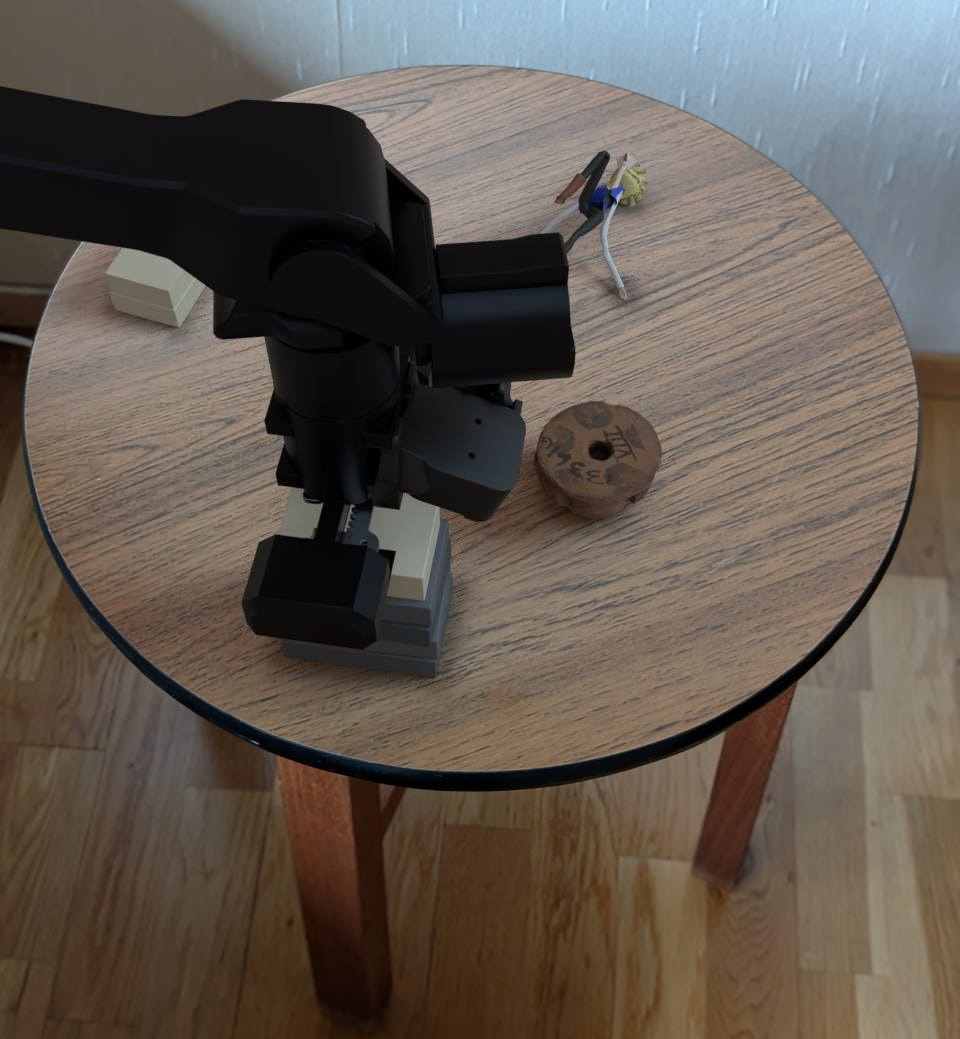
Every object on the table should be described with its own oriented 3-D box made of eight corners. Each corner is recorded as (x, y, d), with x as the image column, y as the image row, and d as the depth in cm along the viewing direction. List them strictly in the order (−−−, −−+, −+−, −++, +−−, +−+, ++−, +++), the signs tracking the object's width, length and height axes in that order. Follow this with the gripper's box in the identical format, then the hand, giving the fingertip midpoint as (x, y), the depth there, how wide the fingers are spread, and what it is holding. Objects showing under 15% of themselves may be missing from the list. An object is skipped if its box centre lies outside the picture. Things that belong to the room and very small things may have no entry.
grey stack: (280, 659, 78) (261, 590, 71) (304, 567, 81) (288, 493, 75) (437, 681, 77) (433, 613, 70) (455, 587, 80) (453, 514, 74)
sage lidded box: (179, 328, 92) (169, 292, 89) (114, 310, 93) (102, 273, 90) (223, 258, 95) (215, 221, 92) (160, 241, 96) (150, 204, 93)
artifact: (613, 427, 87) (620, 378, 83) (676, 512, 83) (687, 466, 79) (510, 473, 85) (512, 425, 81) (570, 562, 81) (575, 517, 77)
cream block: (277, 582, 71) (271, 558, 69) (298, 505, 74) (293, 480, 72) (424, 601, 71) (423, 578, 69) (440, 523, 73) (439, 499, 71)
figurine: (668, 269, 104) (542, 386, 90) (587, 194, 104) (448, 300, 91) (746, 176, 96) (619, 289, 83) (657, 96, 97) (517, 195, 83)
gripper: (483, 574, 54) (480, 733, 67) (541, 243, 64) (529, 437, 77) (215, 537, 55) (263, 702, 68) (314, 217, 65) (340, 414, 78)
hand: (360, 555), depth 73 cm, fingers closed on grey stack, 6 cm apart
